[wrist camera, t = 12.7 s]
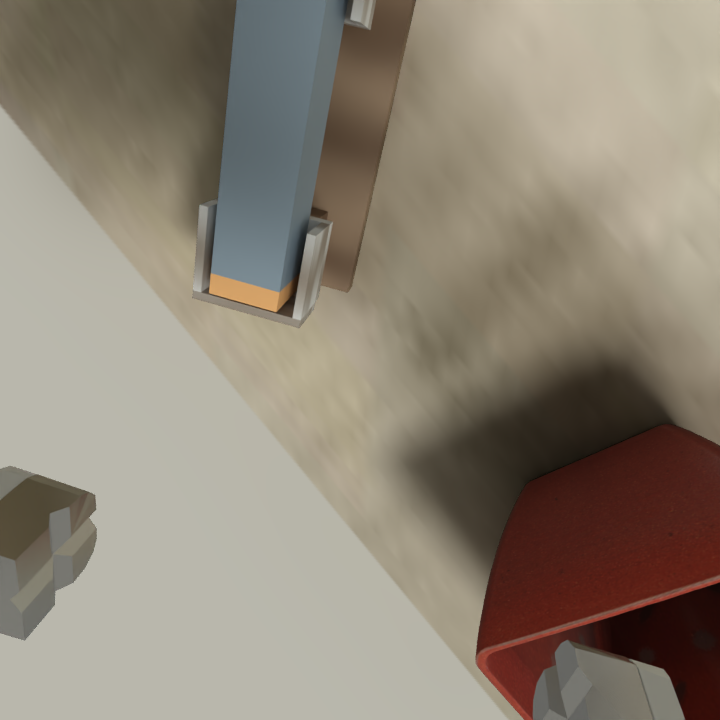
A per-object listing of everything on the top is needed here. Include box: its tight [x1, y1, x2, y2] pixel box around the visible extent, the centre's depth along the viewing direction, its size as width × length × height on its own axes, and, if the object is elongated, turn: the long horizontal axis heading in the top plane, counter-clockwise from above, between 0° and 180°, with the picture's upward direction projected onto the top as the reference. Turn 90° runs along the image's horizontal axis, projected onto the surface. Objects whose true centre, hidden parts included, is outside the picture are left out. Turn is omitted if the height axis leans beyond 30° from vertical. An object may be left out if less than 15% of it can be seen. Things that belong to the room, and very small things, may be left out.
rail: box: [209, 0, 348, 312], centre depth 27 cm, size 20×4×4 cm, turn 167°
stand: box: [192, 0, 416, 328], centre depth 30 cm, size 22×9×10 cm, turn 167°
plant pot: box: [476, 424, 720, 720], centre depth 36 cm, size 19×19×17 cm
